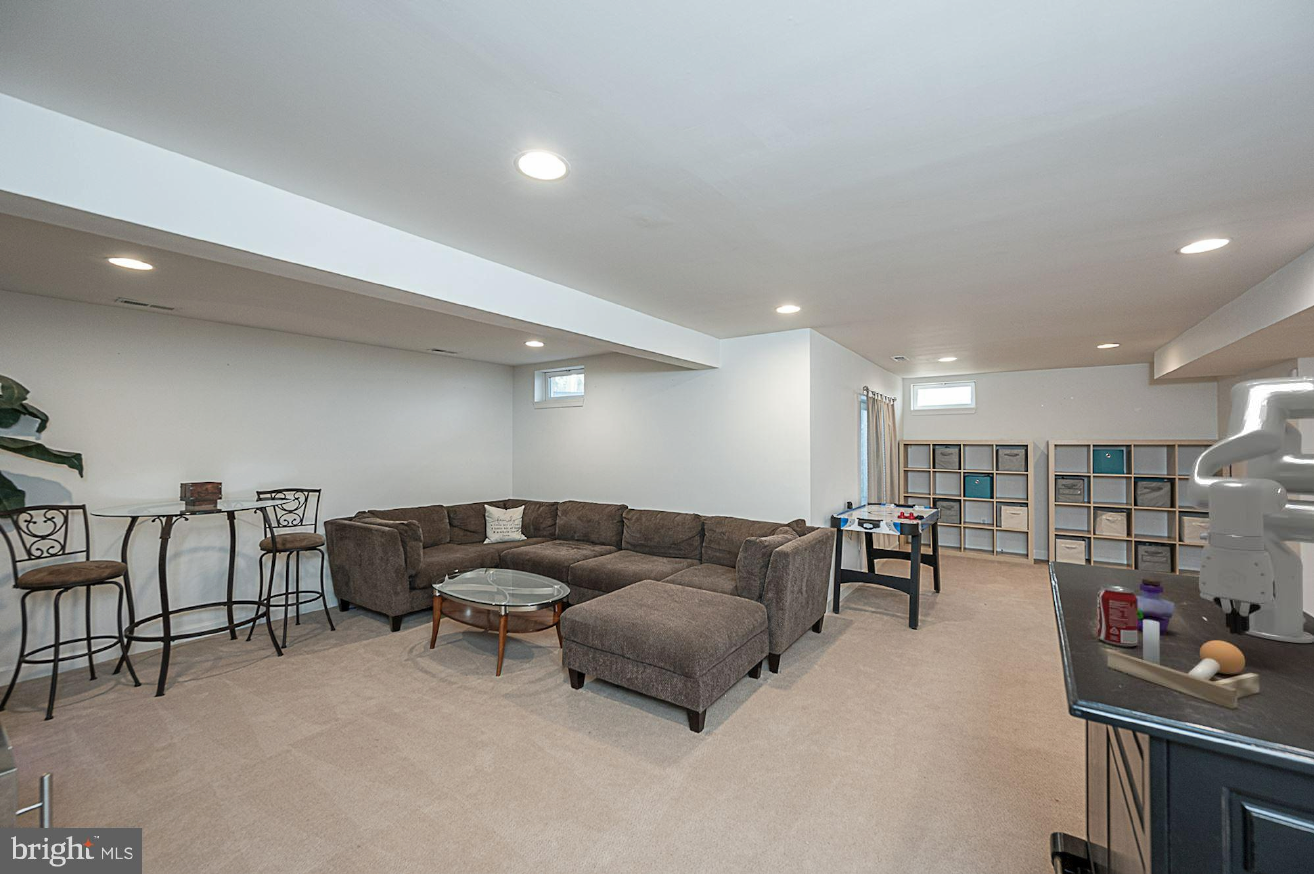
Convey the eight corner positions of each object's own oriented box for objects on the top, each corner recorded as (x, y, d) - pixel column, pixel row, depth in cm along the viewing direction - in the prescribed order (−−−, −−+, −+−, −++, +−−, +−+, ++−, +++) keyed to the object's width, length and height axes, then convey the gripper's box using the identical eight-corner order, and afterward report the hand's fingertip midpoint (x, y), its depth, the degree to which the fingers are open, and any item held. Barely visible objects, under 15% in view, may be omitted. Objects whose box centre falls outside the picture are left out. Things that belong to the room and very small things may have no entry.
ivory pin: (1203, 655, 102) (1186, 670, 98) (1220, 662, 100) (1204, 677, 96) (1201, 667, 102) (1184, 682, 98) (1218, 673, 100) (1202, 689, 96)
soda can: (1145, 649, 115) (1145, 593, 115) (1109, 647, 116) (1108, 591, 117) (1125, 639, 122) (1124, 585, 122) (1090, 636, 123) (1090, 583, 123)
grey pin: (1147, 661, 108) (1147, 618, 109) (1162, 666, 106) (1162, 622, 106) (1140, 663, 108) (1140, 620, 108) (1155, 667, 105) (1154, 623, 105)
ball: (1195, 661, 103) (1203, 675, 106) (1241, 668, 98) (1248, 683, 101) (1196, 632, 106) (1204, 646, 108) (1240, 637, 101) (1248, 652, 103)
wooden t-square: (1149, 658, 110) (1149, 643, 110) (1275, 696, 93) (1275, 679, 93) (1107, 666, 105) (1107, 651, 106) (1232, 708, 89) (1231, 690, 89)
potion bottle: (1119, 627, 130) (1119, 576, 130) (1137, 622, 134) (1137, 573, 134) (1166, 638, 122) (1165, 585, 123) (1183, 633, 126) (1183, 581, 126)
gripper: (1179, 538, 114) (1181, 626, 114) (1286, 551, 101) (1288, 649, 101) (1192, 534, 118) (1194, 619, 118) (1297, 546, 105) (1299, 640, 105)
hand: (1237, 632), depth 109 cm, fingers closed
